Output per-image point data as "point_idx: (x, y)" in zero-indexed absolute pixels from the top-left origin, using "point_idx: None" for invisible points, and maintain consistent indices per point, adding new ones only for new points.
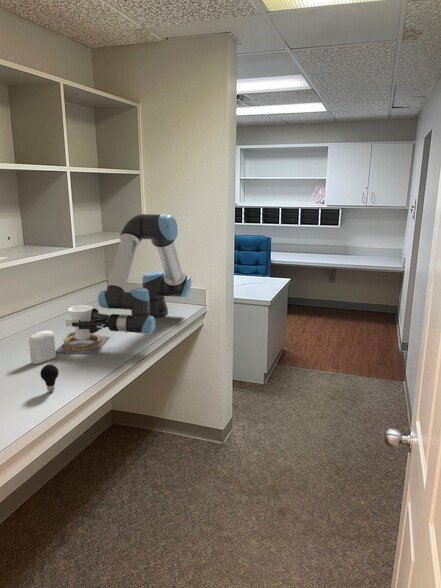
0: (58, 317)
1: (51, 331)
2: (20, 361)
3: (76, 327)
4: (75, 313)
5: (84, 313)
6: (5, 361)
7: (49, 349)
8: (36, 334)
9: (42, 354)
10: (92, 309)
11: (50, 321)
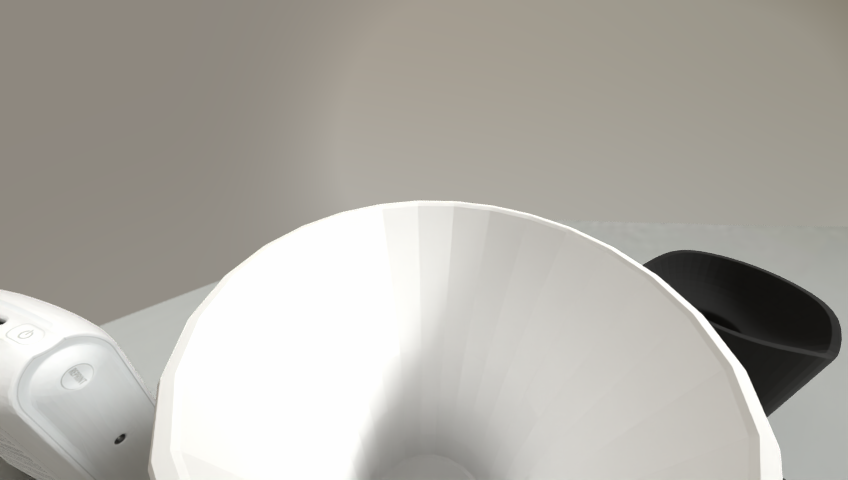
0: (617, 223)
1: (14, 355)
2: (138, 348)
3: (345, 457)
4: (205, 355)
5: None
6: (163, 302)
7: (30, 462)
8: None
9: (1, 452)
10: (783, 289)
11: (573, 225)
